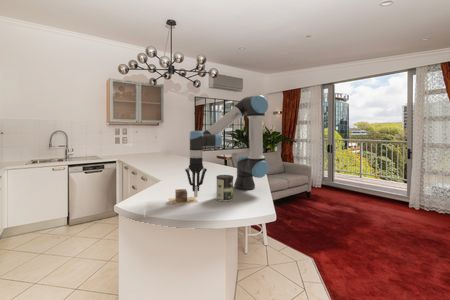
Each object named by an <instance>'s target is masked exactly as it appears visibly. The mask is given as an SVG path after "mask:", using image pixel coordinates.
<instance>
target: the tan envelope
mask: <svg viewBox="0 0 450 300" xmlns="http://www.w3.org/2000/svg"><path fill="white" fill-rule="evenodd" d="M168 203H169V205H170V206H173V205H174V206H175V205H183V204H184V205H185V204H196V203H197V204H199V201H198V200H197V197H194V196H187V202H179V203H177V202H176V200H175V197H174V198H168Z"/></svg>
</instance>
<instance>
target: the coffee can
mask: <svg viewBox="0 0 450 300" xmlns="http://www.w3.org/2000/svg"><path fill="white" fill-rule="evenodd" d="M215 199H216V200H217V201H218V202H219V201H220V202H231V201H233V200H234V175H230V174H219V175H218V174H217V175H216V197H215Z"/></svg>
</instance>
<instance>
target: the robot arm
mask: <svg viewBox="0 0 450 300" xmlns="http://www.w3.org/2000/svg"><path fill="white" fill-rule="evenodd" d="M268 109H269V101H268V99H267V98H266V97H265V96H264V95H260V94H255V95H250V96H247V97H244V98H242V99H241V100H239V101H238V102H237V103H235V104H234V105H233V106H232V107H231V110H229V111H228V112H227V113H225V114H224V115H223V116H221V117H220V118H219V119H218V120H217V121H216V122H214V123H213V124H212V125H211V126H209V127H208V128H207V129H205V130H204V131H202V130H191V131H190V132H189V164H188V167H187V168H185V169H184V171H185V173H186V174H187V176H186V177H187V180H188V184H189V185H190V186H192V189H191V190H192V192H193V197H195V198H198V196H199V195H198V192H199V191H200V187H201V186H202V185H203V183H204V178H205V175H206V172H207V170H208V169H207V168H206V167H204V166H203V156H204V155H203V154H204V153H203V148H205V147H206V148H208V147H209V148H212V147H215V148H216V147H221V145H222V142H223V139H222V136H221V135H220V134H221V133H222V132H223V131H225V129H228V127H230V125H232V124H233V123H234V122H236V121H237V120H238V119H242V118H243V117H244V116H246V117H247V118H248V121H249V123H248V124H249V126H248V127H249V155H248V156H238V157H237V159H236V160H237V161H236V178H235V181H234V183H233V189H236V190H241V191H251V190H255V188H256V185H255V184H256V183H255V180H254V178H257V179H261V178H264V177H266V175H267V174H268V172H269V169H270V168H269V164H268V163H267V161H266V156H264V153H263V151H264V147H263V145H264V144H263V142H264V140H263V136H264V135H263V119H264V118H265V113H266V112H267V111H268ZM190 172H191V173H192V174H191V173H190ZM190 174H191V175H192V177H191V175H190ZM200 174H201V176H200Z"/></svg>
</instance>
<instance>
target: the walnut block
mask: <svg viewBox="0 0 450 300" xmlns="http://www.w3.org/2000/svg"><path fill="white" fill-rule="evenodd" d="M174 195H175V196H174V198H175V200H176V202H177V203H179V202H187V197H188V190H187V189H186V188H182V189H179V188H178V189H175V194H174Z"/></svg>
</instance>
